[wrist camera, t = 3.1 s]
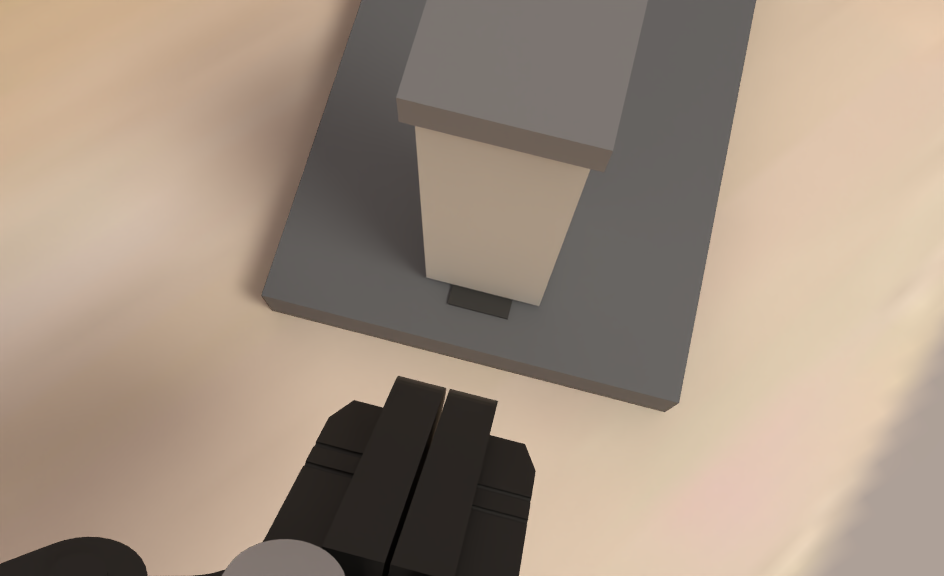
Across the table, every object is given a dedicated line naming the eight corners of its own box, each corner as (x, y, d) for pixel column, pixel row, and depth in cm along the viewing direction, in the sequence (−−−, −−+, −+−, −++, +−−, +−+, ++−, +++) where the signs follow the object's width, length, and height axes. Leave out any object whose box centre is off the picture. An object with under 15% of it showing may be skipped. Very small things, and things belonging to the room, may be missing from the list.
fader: (416, 282, 23) (396, 97, 14) (450, 165, 24) (453, -83, 15) (545, 315, 23) (612, 151, 14) (573, 196, 24) (656, -36, 14)
